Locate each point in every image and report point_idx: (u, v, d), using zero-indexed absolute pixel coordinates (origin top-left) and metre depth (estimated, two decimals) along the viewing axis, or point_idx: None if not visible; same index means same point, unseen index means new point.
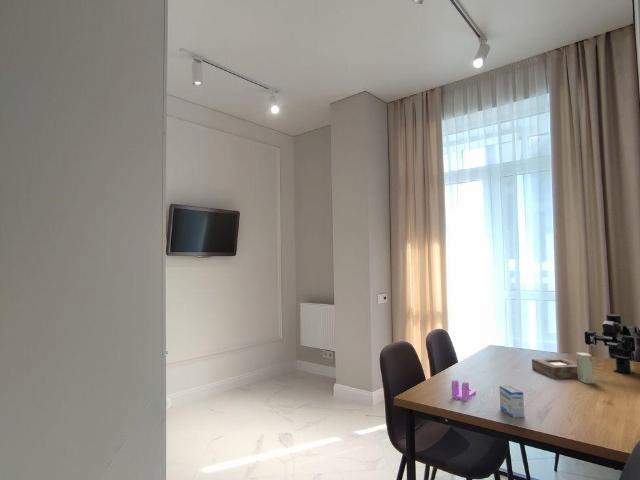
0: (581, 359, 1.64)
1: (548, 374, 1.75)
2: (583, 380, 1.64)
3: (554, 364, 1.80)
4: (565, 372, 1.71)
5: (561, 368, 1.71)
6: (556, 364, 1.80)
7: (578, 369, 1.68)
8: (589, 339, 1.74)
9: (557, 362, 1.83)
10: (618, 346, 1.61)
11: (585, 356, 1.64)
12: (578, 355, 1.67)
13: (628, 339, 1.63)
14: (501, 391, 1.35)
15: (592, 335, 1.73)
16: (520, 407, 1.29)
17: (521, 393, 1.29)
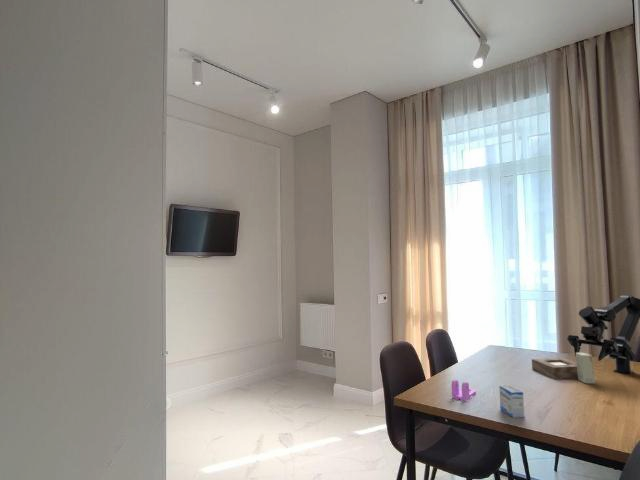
0: (581, 359, 1.64)
1: (548, 374, 1.75)
2: (583, 380, 1.64)
3: (554, 364, 1.80)
4: (565, 372, 1.71)
5: (561, 368, 1.71)
6: (556, 364, 1.80)
7: (578, 369, 1.68)
8: None
9: (557, 362, 1.83)
10: (600, 358, 1.64)
11: (585, 356, 1.64)
12: (578, 355, 1.67)
13: (608, 346, 1.64)
14: (501, 391, 1.35)
15: (574, 343, 1.74)
16: (520, 407, 1.29)
17: (521, 393, 1.29)
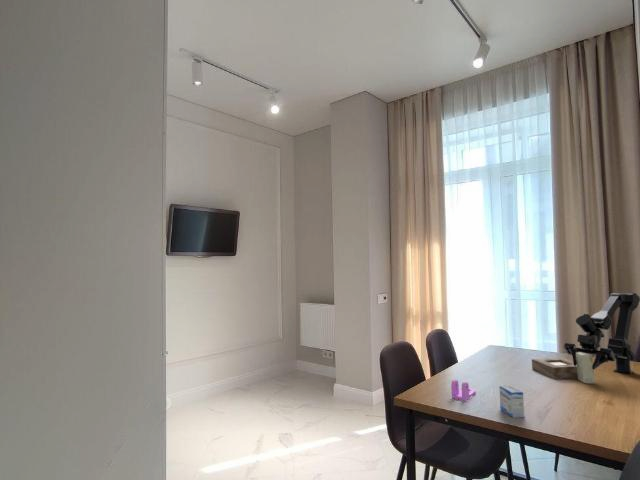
0: (581, 358, 1.64)
1: (548, 374, 1.75)
2: (583, 380, 1.64)
3: (554, 364, 1.80)
4: (565, 372, 1.71)
5: (561, 368, 1.71)
6: (556, 364, 1.80)
7: (578, 369, 1.68)
8: (572, 353, 1.73)
9: (557, 362, 1.83)
10: (595, 367, 1.62)
11: (585, 356, 1.64)
12: (578, 355, 1.67)
13: (602, 354, 1.62)
14: (501, 391, 1.35)
15: (573, 351, 1.71)
16: (520, 407, 1.29)
17: (521, 393, 1.29)
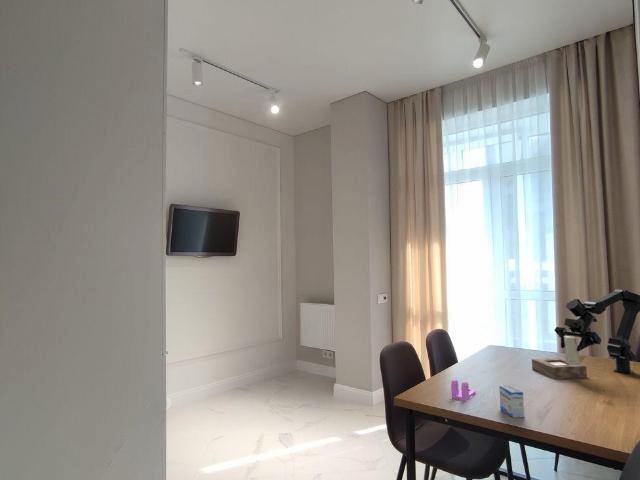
0: (566, 341, 1.71)
1: (548, 374, 1.75)
2: (568, 362, 1.70)
3: (554, 364, 1.80)
4: (565, 372, 1.71)
5: (561, 368, 1.71)
6: (556, 364, 1.80)
7: (565, 351, 1.74)
8: None
9: (557, 362, 1.83)
10: (579, 349, 1.68)
11: (570, 339, 1.70)
12: (565, 338, 1.73)
13: (587, 337, 1.67)
14: (501, 391, 1.35)
15: (562, 335, 1.77)
16: (520, 407, 1.29)
17: (521, 393, 1.29)
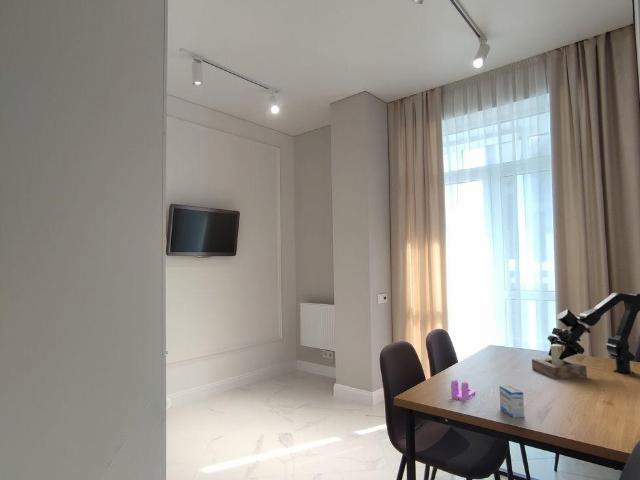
0: (551, 349, 1.80)
1: (548, 374, 1.75)
2: None
3: None
4: (565, 372, 1.71)
5: (561, 368, 1.71)
6: None
7: None
8: None
9: None
10: (561, 358, 1.76)
11: (553, 347, 1.79)
12: None
13: (569, 347, 1.74)
14: (501, 391, 1.35)
15: (552, 343, 1.85)
16: (520, 407, 1.29)
17: (521, 393, 1.29)
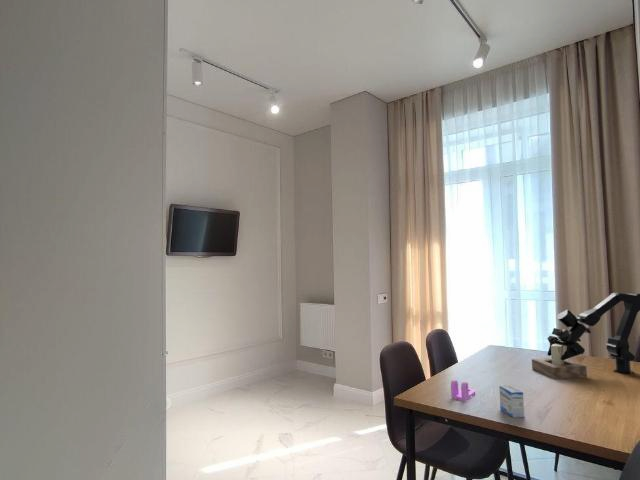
0: (551, 349, 1.80)
1: (548, 374, 1.75)
2: None
3: None
4: (565, 372, 1.71)
5: (561, 368, 1.71)
6: None
7: None
8: None
9: None
10: (563, 358, 1.75)
11: (553, 347, 1.79)
12: None
13: (570, 347, 1.73)
14: (501, 391, 1.35)
15: (551, 343, 1.86)
16: (520, 407, 1.29)
17: (521, 393, 1.29)
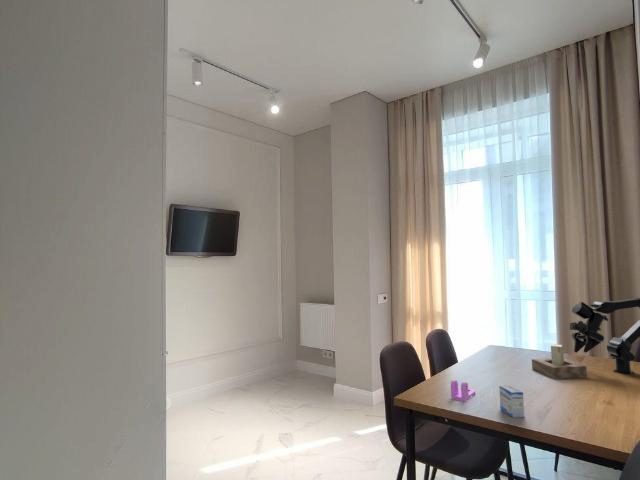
0: (551, 349, 1.80)
1: (548, 374, 1.75)
2: None
3: None
4: (565, 372, 1.71)
5: (561, 368, 1.71)
6: None
7: None
8: None
9: None
10: (586, 350, 1.74)
11: (553, 347, 1.79)
12: None
13: (588, 337, 1.73)
14: (501, 391, 1.35)
15: (574, 339, 1.85)
16: (520, 407, 1.29)
17: (521, 393, 1.29)
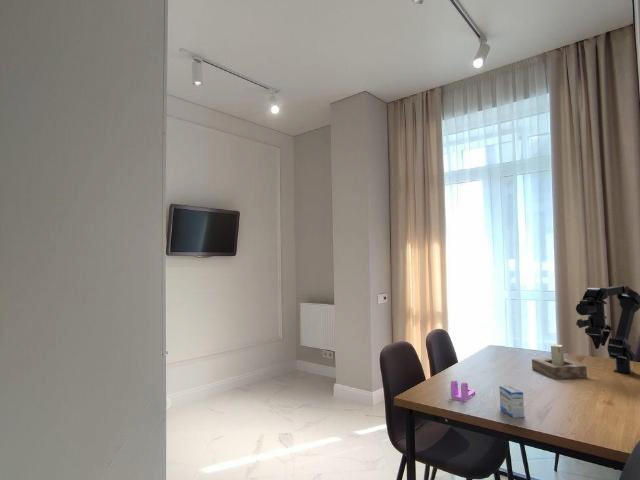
0: (551, 349, 1.80)
1: (548, 374, 1.75)
2: None
3: None
4: (565, 372, 1.71)
5: (561, 368, 1.71)
6: None
7: None
8: None
9: None
10: (597, 347, 1.72)
11: (553, 347, 1.79)
12: None
13: (588, 334, 1.72)
14: (501, 391, 1.35)
15: None
16: (520, 407, 1.29)
17: (521, 393, 1.29)
